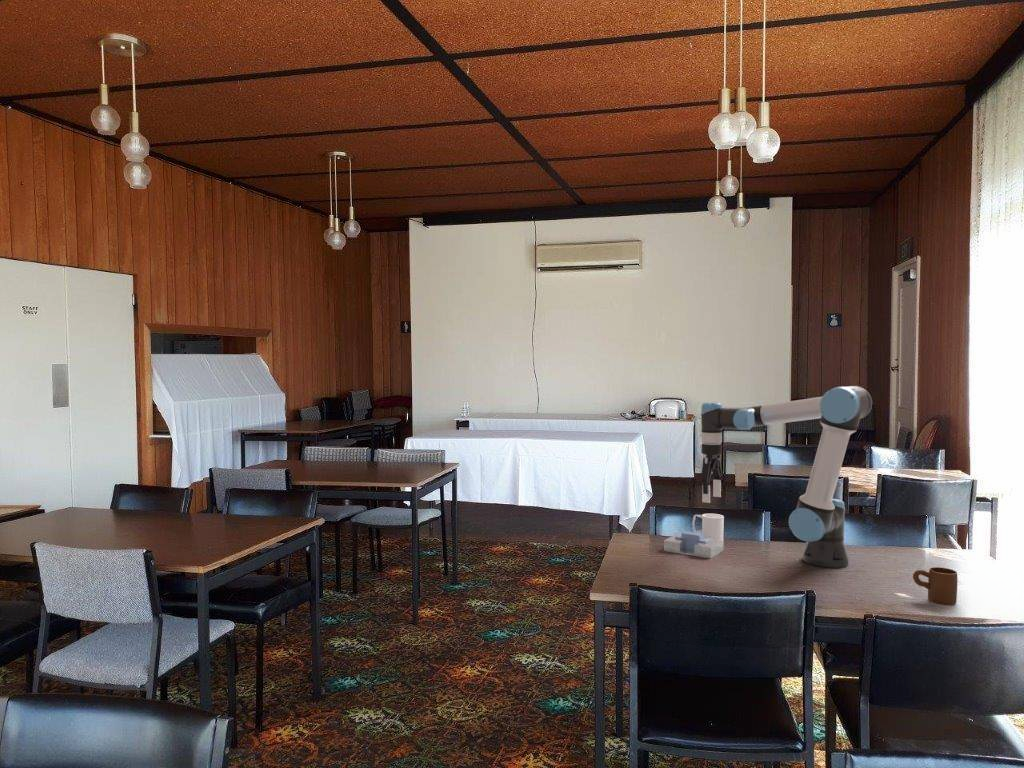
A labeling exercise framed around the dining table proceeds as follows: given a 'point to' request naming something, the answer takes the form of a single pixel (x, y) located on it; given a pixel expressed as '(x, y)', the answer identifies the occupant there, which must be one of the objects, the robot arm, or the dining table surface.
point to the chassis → (700, 549)
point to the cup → (711, 525)
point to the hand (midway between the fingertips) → (711, 499)
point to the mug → (939, 584)
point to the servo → (691, 539)
